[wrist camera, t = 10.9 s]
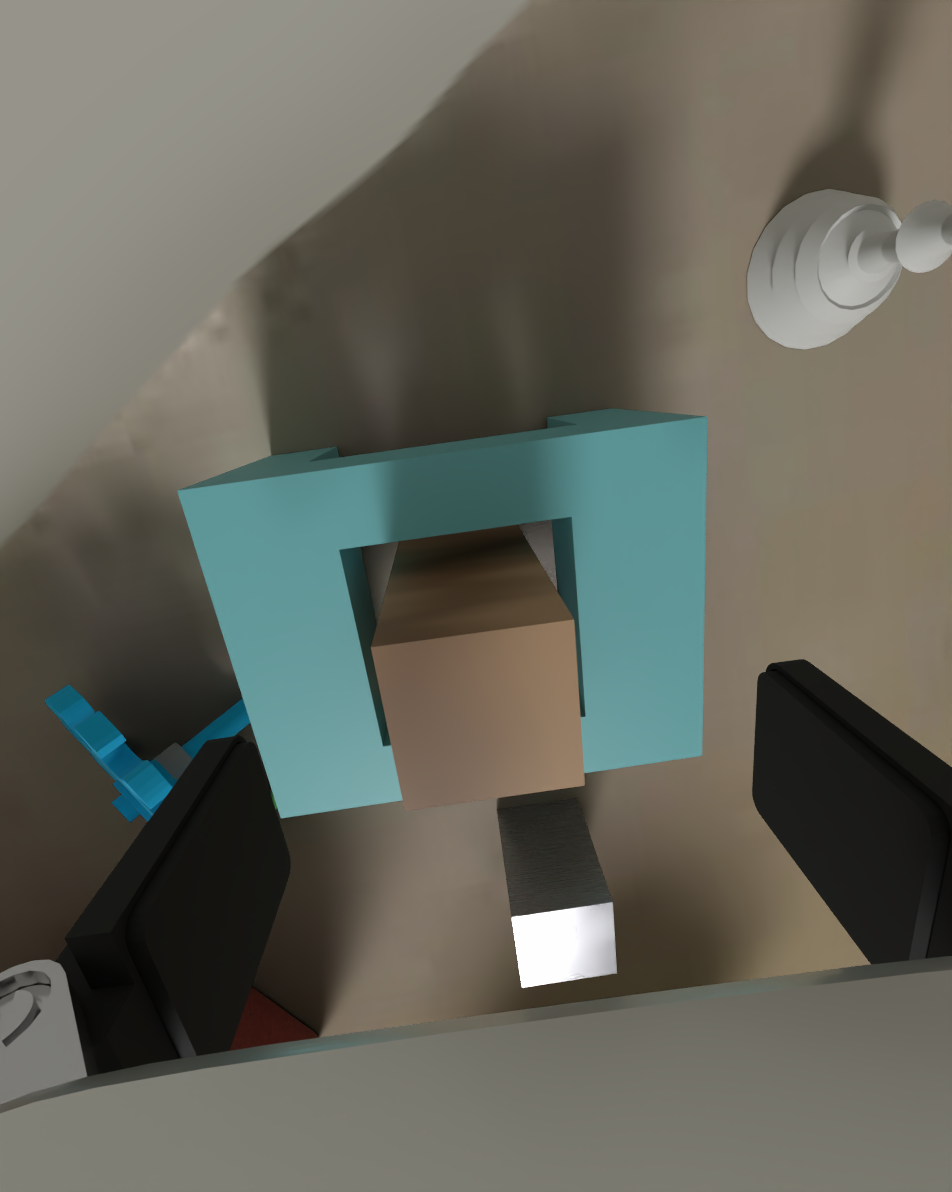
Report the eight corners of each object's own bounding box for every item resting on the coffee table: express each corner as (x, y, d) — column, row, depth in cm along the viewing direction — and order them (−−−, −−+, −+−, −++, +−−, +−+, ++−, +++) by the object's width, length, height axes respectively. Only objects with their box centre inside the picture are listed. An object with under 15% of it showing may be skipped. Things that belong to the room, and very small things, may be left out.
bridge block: (611, 408, 21) (707, 416, 14) (621, 645, 25) (702, 755, 17) (270, 455, 21) (176, 491, 13) (329, 687, 24) (280, 818, 17)
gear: (0, 684, 22) (67, 758, 15) (144, 599, 25) (249, 629, 18) (163, 857, 27) (266, 968, 20) (264, 766, 30) (379, 836, 24)
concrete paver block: (577, 797, 27) (612, 902, 22) (582, 859, 29) (616, 973, 23) (496, 809, 27) (511, 917, 22) (505, 871, 29) (521, 987, 23)
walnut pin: (505, 504, 22) (574, 619, 11) (515, 597, 24) (584, 785, 12) (405, 517, 22) (371, 647, 11) (421, 610, 23) (404, 811, 12)
